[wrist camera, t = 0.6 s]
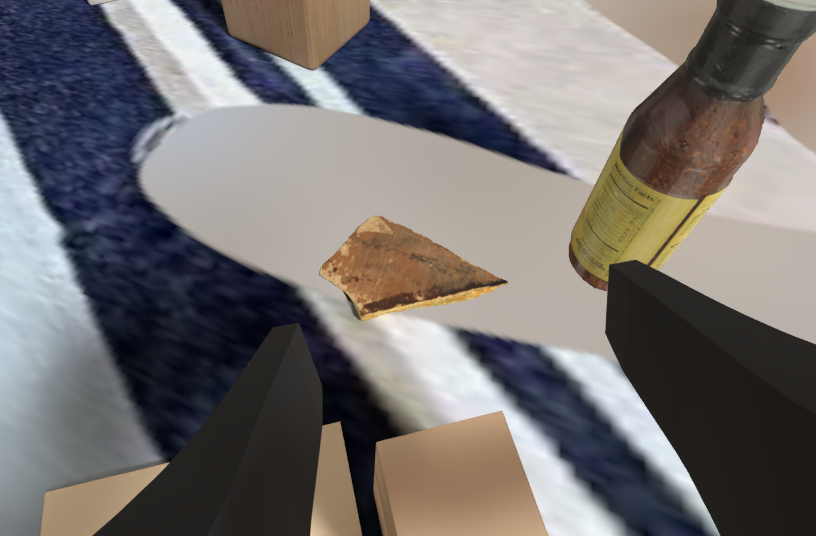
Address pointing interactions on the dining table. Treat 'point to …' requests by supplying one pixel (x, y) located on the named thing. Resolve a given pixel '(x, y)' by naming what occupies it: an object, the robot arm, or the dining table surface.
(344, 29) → the wooden block
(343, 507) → the cork mat
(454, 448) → the small brown box
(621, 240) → the sauce bottle
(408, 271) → the shard
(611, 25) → the dining table surface
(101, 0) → the coffee box
